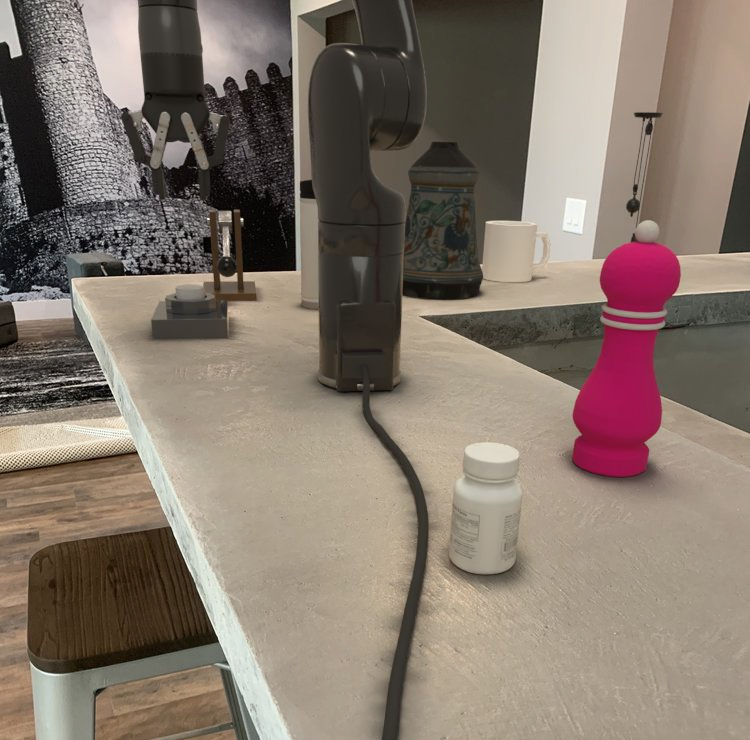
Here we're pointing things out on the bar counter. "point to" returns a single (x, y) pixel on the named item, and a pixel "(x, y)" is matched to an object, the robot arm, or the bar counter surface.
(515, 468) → the pill bottle
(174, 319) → the button base
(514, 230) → the mug
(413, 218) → the beer stein
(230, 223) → the flush lever
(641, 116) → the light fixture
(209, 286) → the pendulum stand
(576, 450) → the pepper mill
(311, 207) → the travel mug
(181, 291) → the flush button
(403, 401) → the bar counter surface
